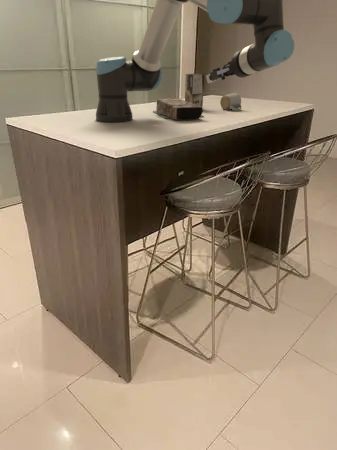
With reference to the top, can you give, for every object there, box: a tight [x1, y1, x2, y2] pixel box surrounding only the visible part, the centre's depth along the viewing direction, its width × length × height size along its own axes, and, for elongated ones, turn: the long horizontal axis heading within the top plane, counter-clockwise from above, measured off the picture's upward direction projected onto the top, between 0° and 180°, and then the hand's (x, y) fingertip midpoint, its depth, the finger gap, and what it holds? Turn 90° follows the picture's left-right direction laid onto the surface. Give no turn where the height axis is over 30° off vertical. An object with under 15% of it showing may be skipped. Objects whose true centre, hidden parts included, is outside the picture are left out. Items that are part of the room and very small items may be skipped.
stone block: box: [155, 98, 204, 121], centre depth 148 cm, size 13×7×20 cm
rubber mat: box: [152, 110, 205, 120], centre depth 156 cm, size 18×20×1 cm
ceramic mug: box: [219, 92, 242, 112], centre depth 169 cm, size 11×8×8 cm
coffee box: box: [184, 73, 205, 109], centre depth 172 cm, size 9×6×16 cm
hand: (208, 79), depth 121 cm, fingers closed
